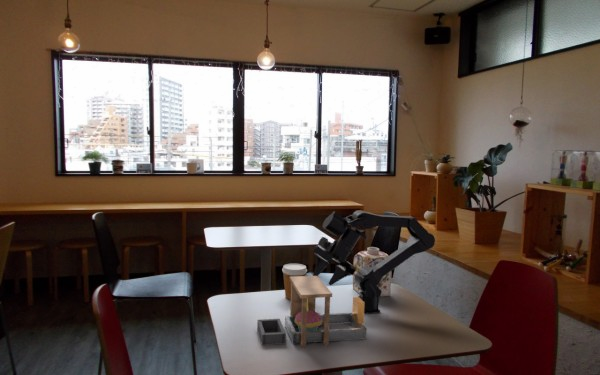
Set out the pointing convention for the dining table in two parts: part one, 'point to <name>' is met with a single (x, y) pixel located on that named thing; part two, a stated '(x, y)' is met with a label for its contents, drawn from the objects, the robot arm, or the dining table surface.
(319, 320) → the cupcake
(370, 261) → the decorative jar
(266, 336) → the box
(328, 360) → the dining table surface
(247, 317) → the dining table surface
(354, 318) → the grey shallow tray
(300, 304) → the small wooden table
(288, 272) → the disposable coffee cup
